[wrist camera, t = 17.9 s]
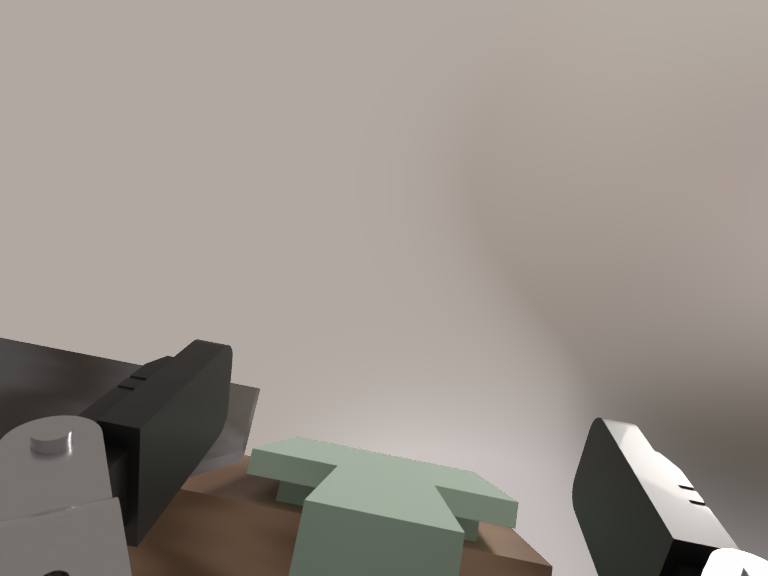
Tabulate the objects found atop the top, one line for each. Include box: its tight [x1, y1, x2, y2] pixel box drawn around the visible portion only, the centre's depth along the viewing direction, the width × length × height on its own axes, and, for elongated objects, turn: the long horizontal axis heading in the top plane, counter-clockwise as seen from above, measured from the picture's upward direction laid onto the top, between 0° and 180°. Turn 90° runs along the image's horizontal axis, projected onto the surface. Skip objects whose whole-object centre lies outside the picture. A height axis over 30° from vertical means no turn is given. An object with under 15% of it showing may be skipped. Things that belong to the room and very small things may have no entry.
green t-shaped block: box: [247, 437, 518, 576], centre depth 20 cm, size 11×23×3 cm, turn 0°
